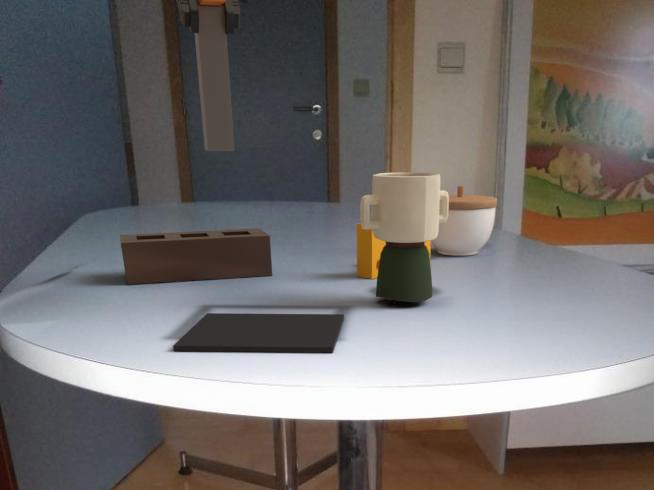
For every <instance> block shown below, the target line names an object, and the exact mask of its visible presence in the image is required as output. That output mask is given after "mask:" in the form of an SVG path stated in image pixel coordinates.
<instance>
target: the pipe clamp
mask: <svg viewBox="0 0 654 490" xmlns="http://www.w3.org/2000/svg"><path fill="white" fill-rule="evenodd" d="M385 245H386V242H385V241H382V240H379V239H377V238H375V236H374V234H373V231H372V229H369V230H365V229H362V226H361V223H360V222H359V223H356V277H357V278H363V279H370V280H375V279H377V276H378V269H379V262H380V254H381V252H382V250H383V247H384V246H385ZM424 245H425V246H427V249H428V251H429V256H430V257H431V251H432V250H431V249H432V247H431V246H432V243H431V240H430V241H426V242H424Z"/></svg>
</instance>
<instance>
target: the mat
mask: <svg viewBox="0 0 654 490" xmlns="http://www.w3.org/2000/svg"><path fill="white" fill-rule="evenodd" d="M344 320H345V314H343V313H337V314H336V313H234V312H233V313H230V312H228V313H227V312H226V313H225V312H223V313H220V312H215V313H214V312H207V313H205V315H203V317H201V318H200V320H198V321H197V322H196V323H195V324H194V325H193V326H192V327H191V328H190V329H189V330H188V331H187V332H186V333H184V335H183V336H181V337H180V339H179V340H177V341H176V342H175V343H174V344H173V345H172V349H173V352H218V353H219V352H221V353H222V352H223V353H225V352H226V353H227V352H230V353H234V352H235V353H311V354H312V353H316V354H317V353H319V354H320V353H323V354H326V353H327V354H329V353H330V354H333V353H334V351H335V349H336V348H335V347H336V345H337V341H338V338H339V336H340V332H341V329H342V327H343V323H344Z"/></svg>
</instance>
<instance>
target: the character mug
mask: <svg viewBox="0 0 654 490" xmlns="http://www.w3.org/2000/svg"><path fill="white" fill-rule="evenodd" d="M449 195H450V194H449V192H448V191H446V190H444V189H443V190H441V174H440V173H434V172H412V171H411V172H407V171H405V172H404V171H402V172H401V171H400V172H381V173H375V174H373V175H372V180H371V194H365V195H363V196H362V197H361V198H360V202H359V204H360V205H359V207H360V208H359V211H360V213H359V214H360V215H359V216H360V222H359V223H361V226H362V229H365V230H369V229H372V231H373V234H374V236H375V238H377V239H379V240H382V241H385V242H386V245H385V246H384V247H383V250H382V252H381V254H380V262H379V269H378V276H377V278H376V288H375V298H381V299H385V300H389V301H390V303H391V304H393V305H395V304H396V302H403V303H420V302H425V301H427V300H429V299H431V298H433V277H432V268H431V255H430V256H429V251H428V249H427V246H425V245H424V242H426V241H430V240H433V239H435V238H437V236H438V232H439V223H444V222H446V221H447V219H448V210H449ZM439 208H440V209H439Z"/></svg>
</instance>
